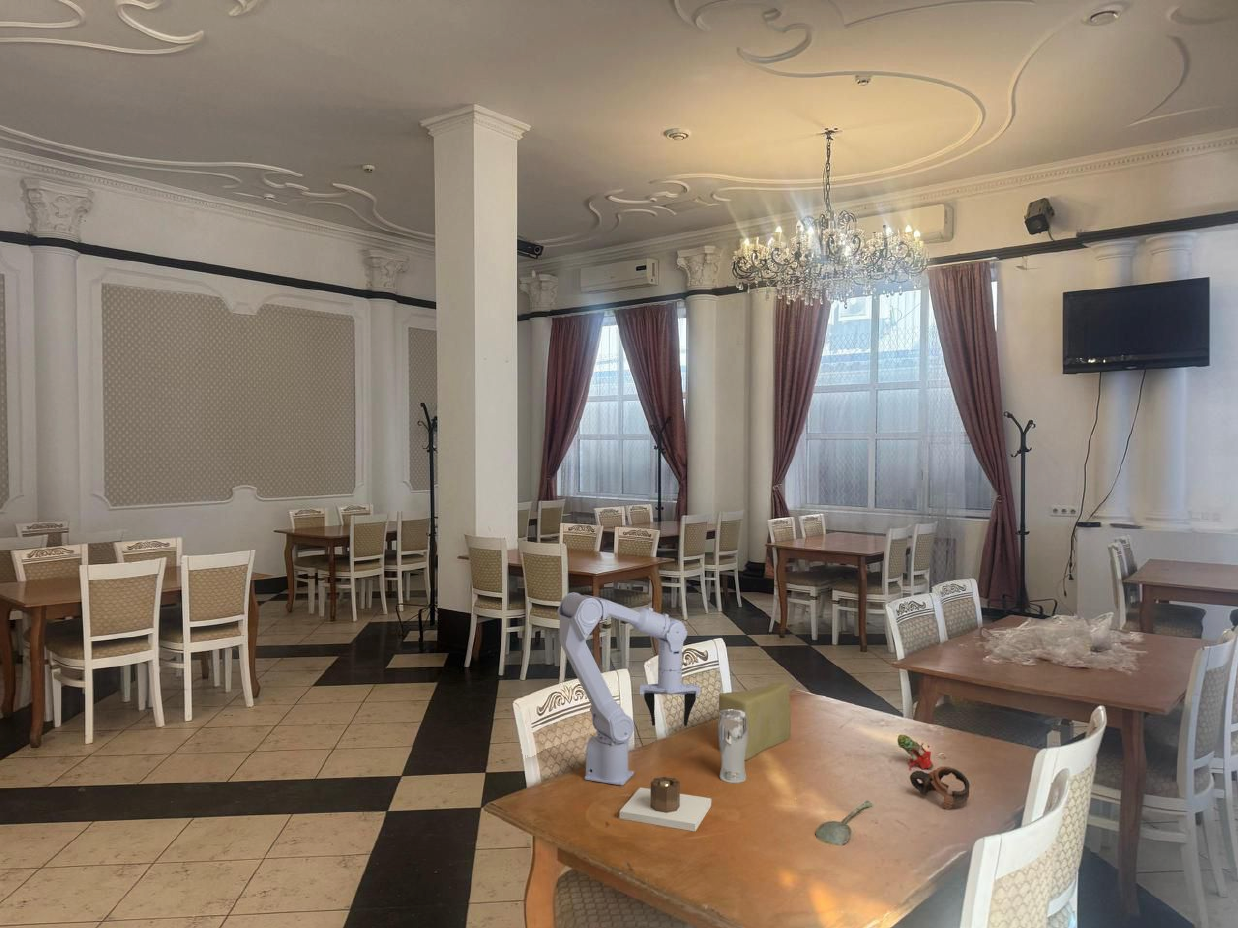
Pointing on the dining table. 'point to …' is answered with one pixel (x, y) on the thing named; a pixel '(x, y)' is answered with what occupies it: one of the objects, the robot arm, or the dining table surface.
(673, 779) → the walnut bead
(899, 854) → the dining table surface
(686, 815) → the white rectangular board
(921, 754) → the figurine
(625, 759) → the robot arm
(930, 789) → the brown looped clamp
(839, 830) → the soupspoon
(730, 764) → the beer glass
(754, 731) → the cheese
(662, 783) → the brass rod
